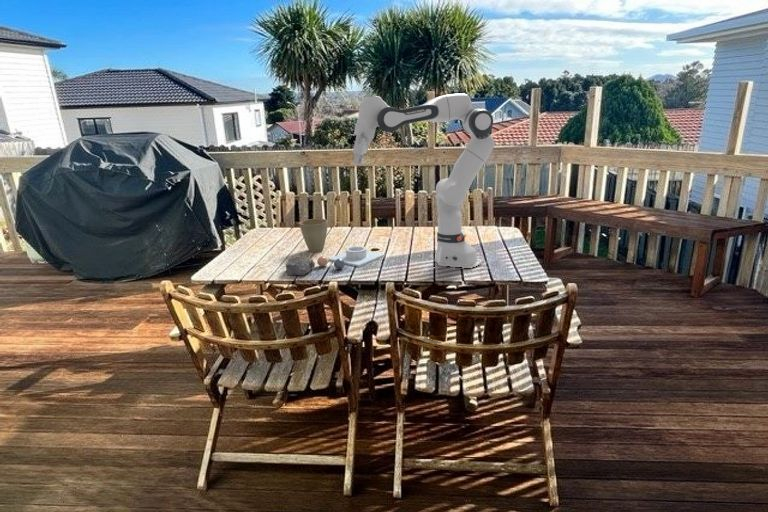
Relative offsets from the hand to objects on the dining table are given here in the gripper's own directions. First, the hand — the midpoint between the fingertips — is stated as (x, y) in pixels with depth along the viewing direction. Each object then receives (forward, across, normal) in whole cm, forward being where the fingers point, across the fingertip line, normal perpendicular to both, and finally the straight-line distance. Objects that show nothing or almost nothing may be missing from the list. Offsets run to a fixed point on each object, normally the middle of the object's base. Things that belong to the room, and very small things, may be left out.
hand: (357, 163), depth 201 cm
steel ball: (+47, -2, -3) cm, 47 cm away
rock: (+55, -5, +14) cm, 57 cm away
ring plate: (+47, +14, -9) cm, 50 cm away
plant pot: (+53, +30, +15) cm, 62 cm away
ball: (+49, +2, +6) cm, 49 cm away
